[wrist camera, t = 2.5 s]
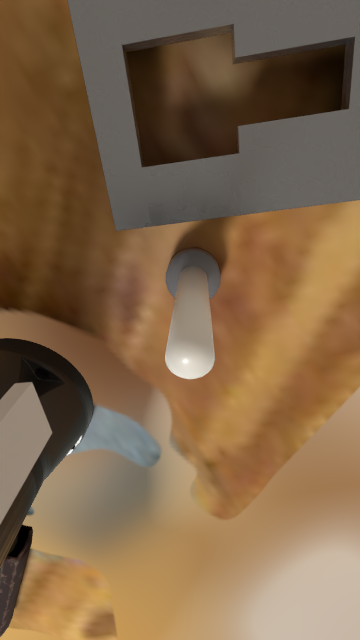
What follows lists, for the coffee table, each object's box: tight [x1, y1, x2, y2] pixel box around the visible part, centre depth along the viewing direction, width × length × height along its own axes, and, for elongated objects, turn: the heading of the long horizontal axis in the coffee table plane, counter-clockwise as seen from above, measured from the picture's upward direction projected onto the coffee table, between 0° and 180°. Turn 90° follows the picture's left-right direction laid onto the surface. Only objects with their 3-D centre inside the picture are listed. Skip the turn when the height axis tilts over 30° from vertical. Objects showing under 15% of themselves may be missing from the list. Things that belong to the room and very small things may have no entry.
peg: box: [165, 248, 220, 379], centre depth 21 cm, size 5×5×14 cm
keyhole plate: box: [68, 0, 360, 231], centre depth 20 cm, size 20×14×4 cm
